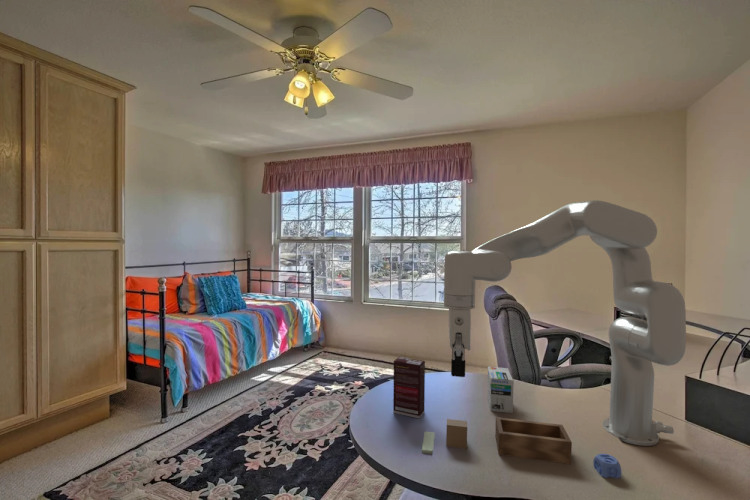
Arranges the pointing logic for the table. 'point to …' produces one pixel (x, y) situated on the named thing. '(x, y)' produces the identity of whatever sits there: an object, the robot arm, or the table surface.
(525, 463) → the table surface
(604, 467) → the decorative dice
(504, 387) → the light bulb box
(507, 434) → the keepsake box
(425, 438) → the lid
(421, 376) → the supplement box
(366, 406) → the table surface
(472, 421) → the table surface
